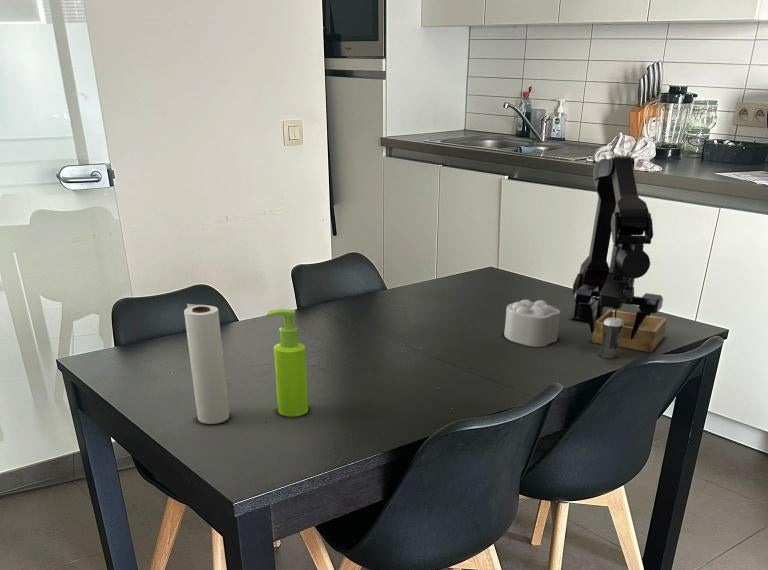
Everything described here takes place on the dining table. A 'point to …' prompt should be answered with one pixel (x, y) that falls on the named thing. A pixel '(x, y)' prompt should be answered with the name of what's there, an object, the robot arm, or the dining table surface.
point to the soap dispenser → (290, 368)
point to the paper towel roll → (207, 363)
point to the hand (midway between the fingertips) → (612, 335)
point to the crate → (644, 337)
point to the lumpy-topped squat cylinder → (532, 323)
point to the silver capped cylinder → (611, 336)
